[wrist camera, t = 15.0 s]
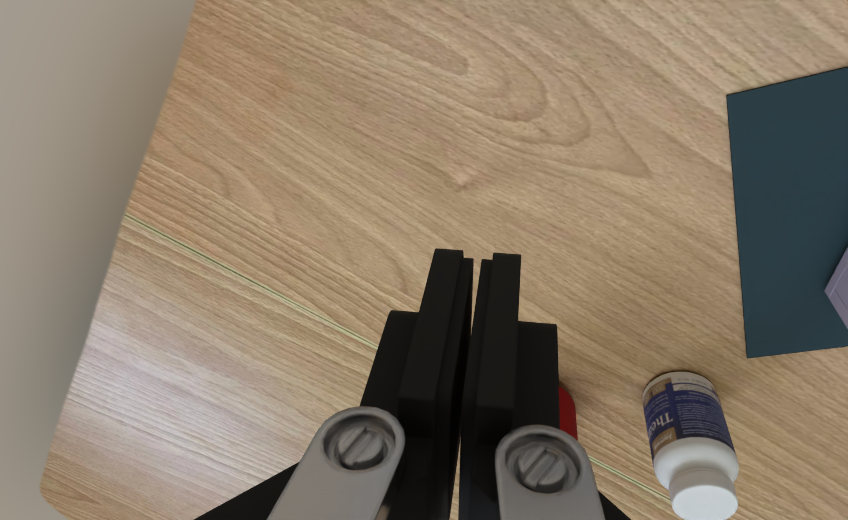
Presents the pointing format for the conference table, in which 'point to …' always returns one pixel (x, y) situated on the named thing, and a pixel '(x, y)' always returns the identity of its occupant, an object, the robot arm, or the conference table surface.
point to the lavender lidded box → (840, 289)
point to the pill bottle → (691, 446)
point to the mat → (791, 209)
